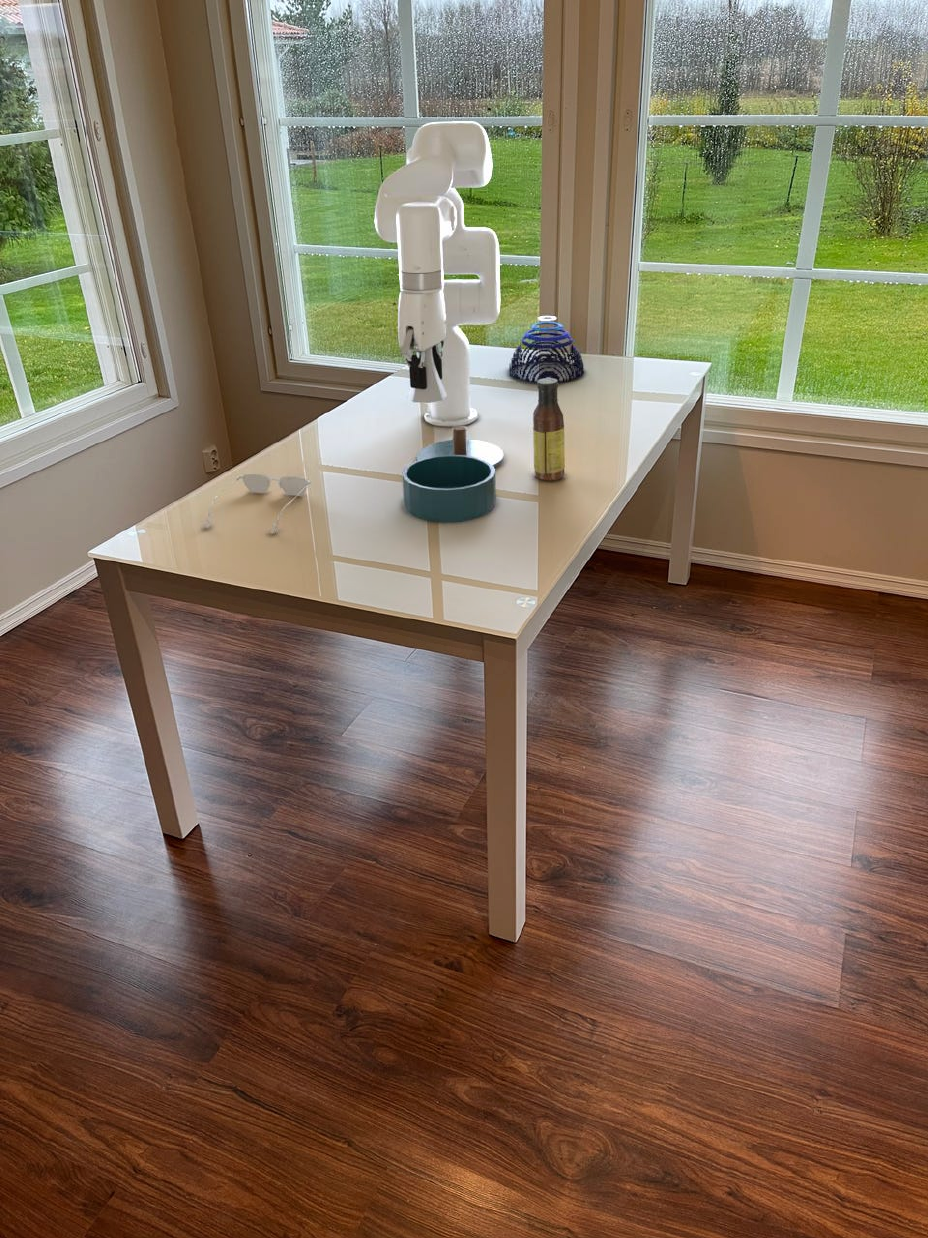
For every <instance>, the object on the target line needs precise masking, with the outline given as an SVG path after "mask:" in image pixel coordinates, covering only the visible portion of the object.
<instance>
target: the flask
mask: <svg viewBox="0 0 928 1238" xmlns="http://www.w3.org/2000/svg"><path fill="white" fill-rule="evenodd" d="M432 347H433V346H432ZM432 347H430V348H428V349H426V350H425V358H424V367H426V375H427V388H426V389H417V388H411V387H410V388H409V390H408V391H409V392H408V395H407V399H408V400H410V401H411V402H412V403H422V404H423V403H431V402H437V401H443V400H444V398H445V397H446V396H447V395H446V393H445V390H444V388H443V385H442V383H441V380H440V378H439V375H438V373H437V370H436V367H435V364H434V360H433V355H432ZM415 349H418V345H415ZM417 357H418V358H419V353H418V352H417Z"/></svg>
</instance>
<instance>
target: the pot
mask: <svg viewBox="0 0 928 1238" xmlns="http://www.w3.org/2000/svg"><path fill="white" fill-rule="evenodd" d="M401 475H402V477H401V478H402V493H403V503H404V508H405V510H406V511H407V513H409V514H410V515H412V516H413V517H416V518H418V519H419V520H420V519H421V520H425V521H430V522H435V523H456V522H457V523H458V522H465V521H470V520H474V519H477V518H480V517H482V516H484V515H486V514H488V513H489V512H491V511H492V510H493V509H494V507H495V504H496V499H497V498H496V496H497V494H496V492H497V491H496V490H497V489H496V488H497V487H496V469H495V467H493V465H491V464H490V463H489V462H487V461H485V460H482V459H480V458H477V457H471V456H466V455H440V456H433V457H428V458H423V459H420V460H417V459H416V460H415V461H411V463H410V464H408V465H406V466H405V467H404V468H403V470H402V472H401Z"/></svg>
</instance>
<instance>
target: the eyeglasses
mask: <svg viewBox="0 0 928 1238" xmlns="http://www.w3.org/2000/svg"><path fill="white" fill-rule="evenodd" d="M239 480H242V481H243V483H244V485H245V487H246V488H247V490H248V491H249V492H252V493H256V494H257V493H259V494H263V493H267V491H268V489H269V488H270V486H271V481H278V485H279V488H280V489H282V490H283V492H284V493H285V494H286V495H289V496H295V497H294V498H293V499H291V500H289V502H287V504H285V505H284V506H283V508H282V509H281V510H280V512H279V514H278V516H277V517H276V520H275V521H274V524H273V526H272V528H271V530H270V533H271V534H275V533H276V532H277V530H278V524H279V521H280V518H281V515H282V514H283V512H284V510H285V509H286V508H287V506H289V504H291V503H292V502H293V501H294V500H295V499H296V498H297V497H298V496H302V495H304V494H305V492H306V490H307V488H308V486H309V485H310V484H311V483H312V481H311V480H309V479H306V478H305V477H301V476H296V475H287V476H282V477H280V478H279V479H278V478H277V477H273V478H270V477H269V476H268V475H266V474H259V473H252V472H251V473H243V475H238V476H237V477H235V479H234V480H233V481H232V482H231V483H230V484H229V485H226V486H225V488H224V489H223V490H222V491H221V492H219V494H217V495H216V496H215V497H214V498H213V500H212V502H211V504H210V507H209V510H208V515H207V518H206V521H205V528H206V529H209V527H210V525H211V513H212V509H213V506H214V503H215V501H216V499H218V498H219V496H220V495H221V493H223V492H224V491H225V490H226V489H227V488H228V487H230V486H231V485H232V484H234V482H236V481H239Z"/></svg>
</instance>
